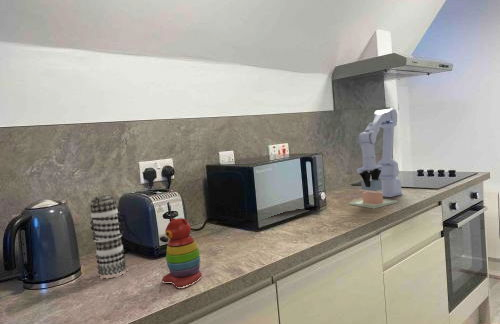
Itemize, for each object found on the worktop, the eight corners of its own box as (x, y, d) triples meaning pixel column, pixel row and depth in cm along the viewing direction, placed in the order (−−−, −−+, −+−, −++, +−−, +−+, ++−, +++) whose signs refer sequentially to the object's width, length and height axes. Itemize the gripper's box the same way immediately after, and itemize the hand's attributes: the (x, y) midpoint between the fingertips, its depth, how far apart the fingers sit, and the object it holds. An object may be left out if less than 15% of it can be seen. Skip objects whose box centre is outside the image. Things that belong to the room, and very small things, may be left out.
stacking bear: (159, 282, 107) (151, 221, 106) (188, 270, 114) (181, 213, 113) (180, 290, 99) (172, 224, 98) (210, 277, 106) (202, 215, 105)
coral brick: (369, 200, 182) (368, 191, 182) (383, 202, 174) (382, 192, 174) (363, 201, 181) (362, 192, 180) (376, 204, 173) (376, 194, 172)
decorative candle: (133, 271, 119) (122, 194, 117) (104, 282, 113) (92, 200, 111) (121, 266, 125) (110, 193, 124) (93, 276, 119) (81, 198, 117)
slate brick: (368, 188, 182) (367, 178, 182) (382, 189, 174) (381, 179, 173) (361, 189, 180) (361, 180, 180) (375, 191, 172) (374, 181, 172)
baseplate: (372, 198, 188) (372, 197, 188) (398, 202, 174) (397, 200, 173) (349, 204, 181) (349, 202, 181) (373, 208, 167) (373, 206, 167)
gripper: (374, 155, 183) (376, 183, 184) (351, 159, 176) (353, 187, 177) (385, 155, 176) (387, 184, 177) (361, 159, 170) (364, 189, 171)
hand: (371, 186), depth 177 cm, fingers closed on slate brick, 4 cm apart
